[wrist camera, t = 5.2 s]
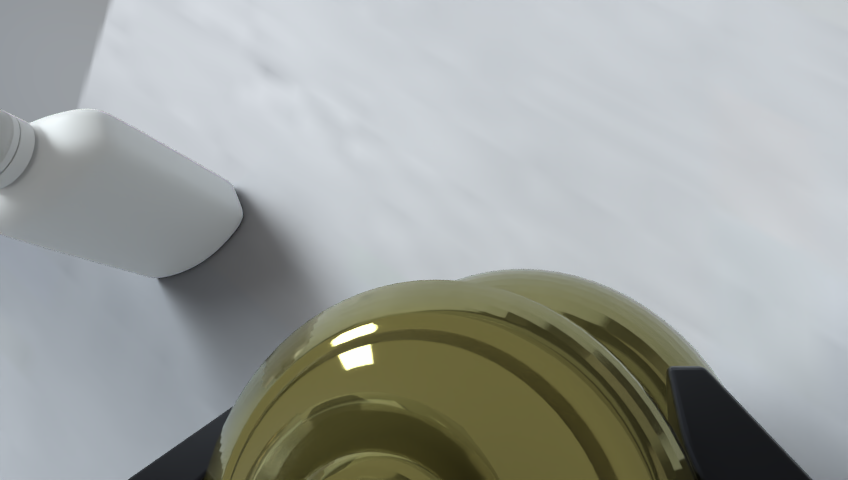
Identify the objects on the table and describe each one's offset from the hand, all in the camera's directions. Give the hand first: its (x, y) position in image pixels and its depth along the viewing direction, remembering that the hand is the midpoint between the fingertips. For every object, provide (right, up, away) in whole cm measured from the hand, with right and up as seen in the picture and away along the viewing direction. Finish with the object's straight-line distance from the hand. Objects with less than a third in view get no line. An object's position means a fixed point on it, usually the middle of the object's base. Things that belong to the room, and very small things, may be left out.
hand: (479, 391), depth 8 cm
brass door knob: (+2, -3, +6) cm, 7 cm away
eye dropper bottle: (-11, +2, +19) cm, 22 cm away
